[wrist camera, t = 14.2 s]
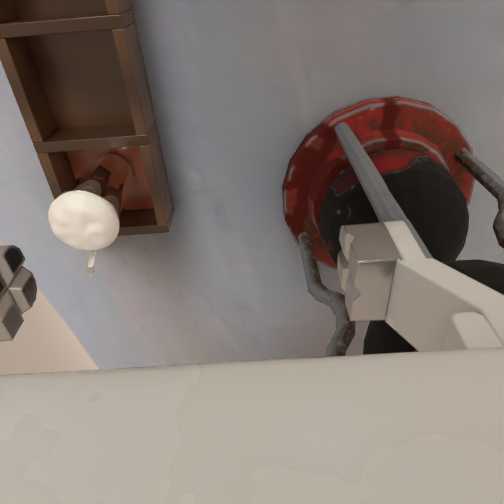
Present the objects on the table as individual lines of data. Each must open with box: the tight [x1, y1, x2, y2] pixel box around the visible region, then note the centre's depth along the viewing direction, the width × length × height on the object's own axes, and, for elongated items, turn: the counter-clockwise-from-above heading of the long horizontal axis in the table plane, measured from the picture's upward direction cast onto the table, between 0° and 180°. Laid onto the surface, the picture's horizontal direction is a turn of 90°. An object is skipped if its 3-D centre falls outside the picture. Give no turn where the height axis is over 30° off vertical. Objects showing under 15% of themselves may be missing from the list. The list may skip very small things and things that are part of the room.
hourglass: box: [282, 96, 504, 357], centre depth 27 cm, size 16×16×25 cm
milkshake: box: [48, 153, 134, 276], centre depth 31 cm, size 4×5×10 cm
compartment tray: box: [0, 0, 174, 236], centre depth 30 cm, size 24×8×4 cm, turn 4°
